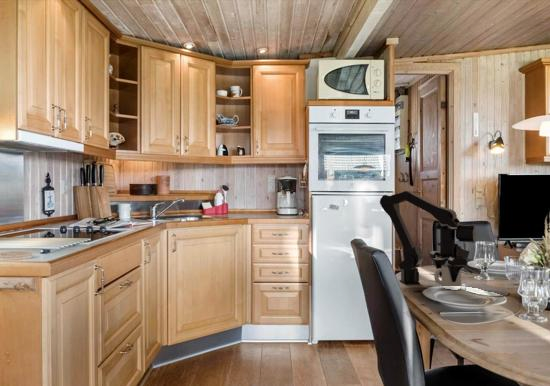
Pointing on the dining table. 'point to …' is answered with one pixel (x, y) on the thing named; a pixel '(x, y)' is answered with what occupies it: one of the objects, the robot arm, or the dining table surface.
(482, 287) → the saucer
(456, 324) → the dining table surface
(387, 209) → the robot arm
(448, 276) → the cup
